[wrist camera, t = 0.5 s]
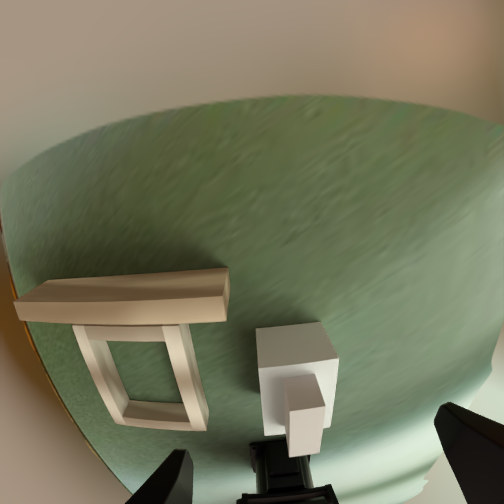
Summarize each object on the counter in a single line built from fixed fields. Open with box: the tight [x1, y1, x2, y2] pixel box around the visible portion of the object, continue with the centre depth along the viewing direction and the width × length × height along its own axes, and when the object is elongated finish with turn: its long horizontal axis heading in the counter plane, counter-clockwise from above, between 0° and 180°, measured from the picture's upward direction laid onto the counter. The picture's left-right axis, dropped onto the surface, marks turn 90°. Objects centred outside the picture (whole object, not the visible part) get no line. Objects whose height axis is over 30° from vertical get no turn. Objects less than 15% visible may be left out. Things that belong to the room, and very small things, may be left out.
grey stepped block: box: [256, 322, 339, 457], centre depth 18 cm, size 7×5×8 cm
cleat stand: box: [14, 267, 230, 431], centre depth 19 cm, size 14×16×5 cm
